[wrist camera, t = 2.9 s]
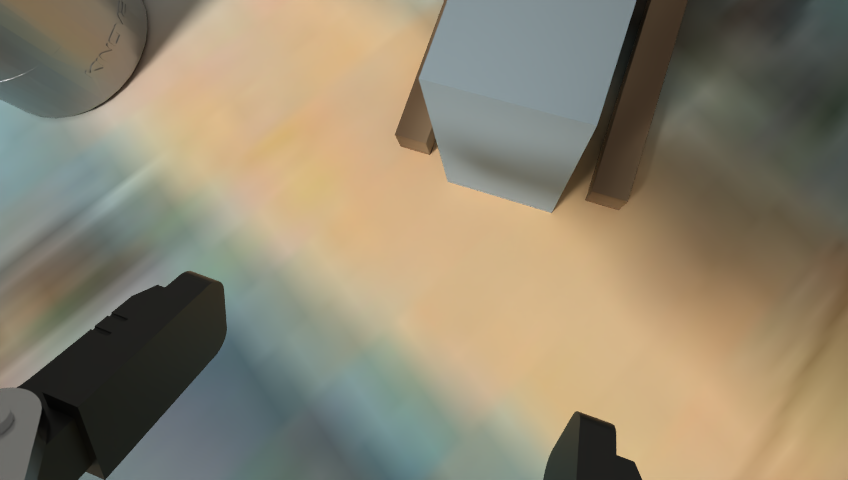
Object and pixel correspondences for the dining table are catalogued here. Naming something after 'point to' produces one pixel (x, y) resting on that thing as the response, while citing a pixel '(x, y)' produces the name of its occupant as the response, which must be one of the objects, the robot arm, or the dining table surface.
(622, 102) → the guide channel
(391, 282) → the dining table surface
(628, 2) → the gray block
